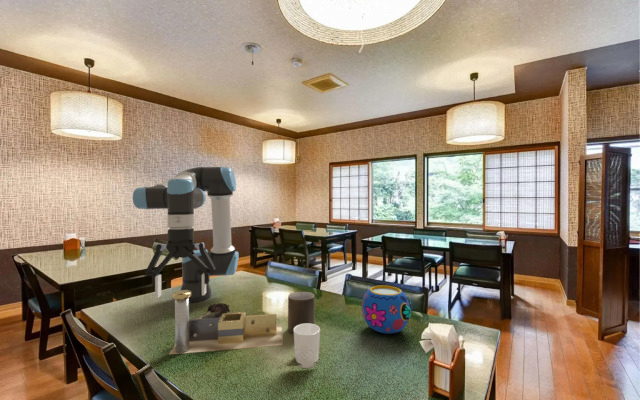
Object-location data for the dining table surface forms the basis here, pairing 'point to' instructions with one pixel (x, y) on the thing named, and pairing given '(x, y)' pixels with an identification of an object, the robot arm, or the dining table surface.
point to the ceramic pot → (386, 309)
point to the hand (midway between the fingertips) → (181, 295)
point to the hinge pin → (181, 320)
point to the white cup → (306, 344)
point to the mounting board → (247, 343)
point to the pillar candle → (300, 309)
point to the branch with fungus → (214, 311)
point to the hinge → (232, 327)
